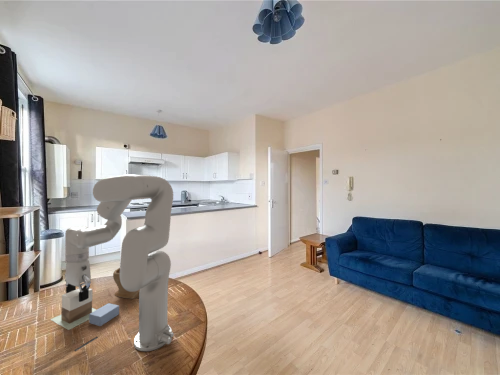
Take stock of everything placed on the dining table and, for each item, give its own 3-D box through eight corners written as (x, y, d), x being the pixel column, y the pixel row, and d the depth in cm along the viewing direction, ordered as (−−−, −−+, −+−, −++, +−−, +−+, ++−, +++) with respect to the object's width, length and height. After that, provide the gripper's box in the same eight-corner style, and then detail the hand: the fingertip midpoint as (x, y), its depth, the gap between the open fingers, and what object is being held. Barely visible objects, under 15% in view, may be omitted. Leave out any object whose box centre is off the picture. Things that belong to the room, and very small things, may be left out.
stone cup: (107, 299, 100) (107, 269, 100) (128, 288, 111) (128, 260, 111) (131, 305, 96) (131, 273, 95) (150, 292, 107) (150, 264, 107)
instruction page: (98, 337, 75) (98, 337, 75) (75, 351, 69) (75, 351, 69) (84, 330, 79) (84, 329, 79) (61, 342, 73) (61, 342, 73)
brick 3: (119, 317, 87) (119, 305, 87) (100, 329, 80) (100, 317, 80) (108, 314, 89) (108, 303, 89) (89, 326, 81) (89, 314, 81)
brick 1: (92, 300, 88) (92, 289, 88) (70, 311, 81) (70, 298, 81) (84, 297, 91) (84, 286, 91) (61, 307, 83) (61, 295, 83)
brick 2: (91, 312, 88) (92, 300, 88) (69, 323, 81) (69, 311, 81) (84, 308, 91) (84, 297, 91) (61, 319, 83) (61, 307, 83)
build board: (102, 315, 88) (102, 312, 88) (68, 333, 77) (68, 330, 77) (84, 306, 94) (84, 304, 94) (50, 322, 83) (50, 319, 83)
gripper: (99, 257, 85) (99, 297, 85) (76, 251, 93) (76, 288, 93) (78, 263, 78) (78, 307, 79) (55, 256, 86) (55, 296, 86)
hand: (77, 297), depth 86 cm, fingers open, 9 cm apart
